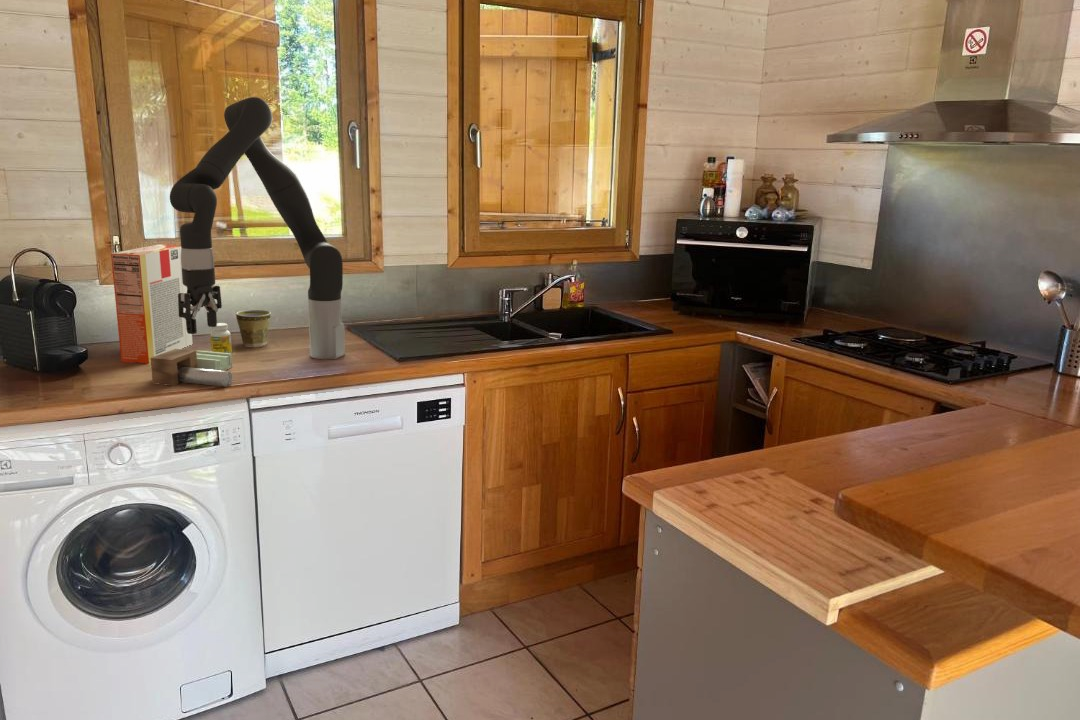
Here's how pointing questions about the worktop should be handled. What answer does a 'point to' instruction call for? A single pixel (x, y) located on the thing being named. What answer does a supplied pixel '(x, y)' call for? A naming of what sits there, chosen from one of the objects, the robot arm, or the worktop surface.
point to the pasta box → (149, 302)
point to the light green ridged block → (213, 360)
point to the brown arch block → (171, 365)
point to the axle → (204, 376)
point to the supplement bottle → (221, 339)
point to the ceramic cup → (254, 326)
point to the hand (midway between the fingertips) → (202, 330)
